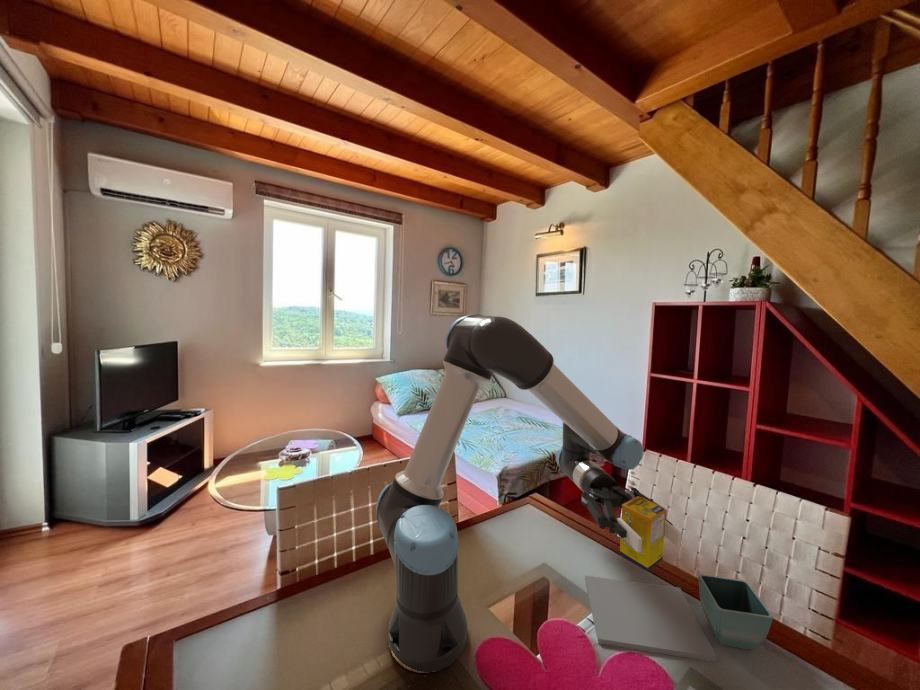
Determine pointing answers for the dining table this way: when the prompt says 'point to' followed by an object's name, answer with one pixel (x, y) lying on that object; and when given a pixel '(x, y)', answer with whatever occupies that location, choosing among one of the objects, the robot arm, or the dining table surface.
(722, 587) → the flower pot
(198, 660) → the dining table surface
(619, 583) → the board
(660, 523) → the supplement box
